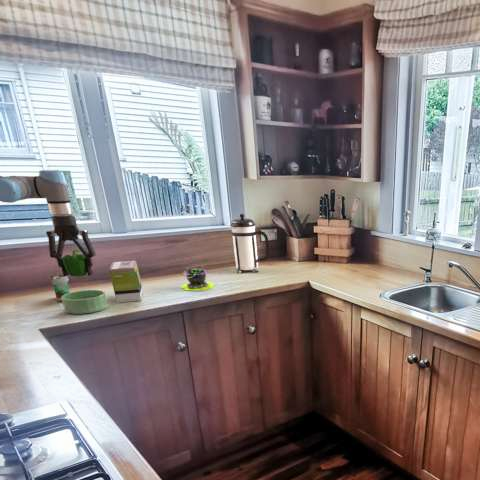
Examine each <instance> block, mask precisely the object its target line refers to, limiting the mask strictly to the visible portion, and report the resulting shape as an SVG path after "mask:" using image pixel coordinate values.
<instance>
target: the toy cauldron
mask: <svg viewBox="0 0 480 480" xmlns="http://www.w3.org/2000/svg"><path fill="white" fill-rule="evenodd" d="M190 265H193V264H192V262H191V263H190ZM195 266H198V263H197V264H196V263H195ZM188 267H189V268H190V266H187V267H186V269H188V270H184V271H183V272H182V274H183V275H186V276H185V278H186V280H187V281H188V283H186V284H183V285H182V286H181V287H180V288H181V289H182V290H183V291H188V292H189V291H190V292H197V291H200V292H201V291H206V290H210V289H212V288H214V287H215V284H214V283H212V282H208V281H206V280H207V275H206V274H207V273H209V270H206V269H202V268H204V266H203V265H202V266H201V267H200V268H196V267H194V268H192V269H189V268H188Z"/></svg>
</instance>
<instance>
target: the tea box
mask: <svg viewBox="0 0 480 480" xmlns="http://www.w3.org/2000/svg"><path fill="white" fill-rule="evenodd" d="M137 263H138V262H137V260H125V261H112V262H111V264H110V267H109V268H108V272H109V276H110V281H111V285H112V289H113V292H114V296H115V300H116V303H118V304H119V303H130V302H140V301H142V300H143V294H144V289H143V285H142V281H141V276H140V273H139V268H138V267H139V266H138V264H137Z"/></svg>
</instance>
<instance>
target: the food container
mask: <svg viewBox="0 0 480 480" xmlns="http://www.w3.org/2000/svg"><path fill="white" fill-rule="evenodd" d="M50 279H51V284H52V287H53V290H54V295H55V298H56V301H57V303H62V300H61V297H62V296H63V295H65V294H68V293H70V288H69V283H68V282H69V281H70V280H69V277H68V275H67V276H64V275H63V273H50Z"/></svg>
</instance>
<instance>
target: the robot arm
mask: <svg viewBox="0 0 480 480" xmlns="http://www.w3.org/2000/svg"><path fill="white" fill-rule="evenodd" d="M38 174H39V175H34V176H32V175H31V176H30V175H27V176H26V175H8V176H6V175H5V176H2V175H0V202H2V203H9V204H11V203H16V202H18V201H23V200H28V199H45V200H46V203H47V207H48V211H49V214H50V215H51V217H50V218H51V221H52V226H53V230H47V231H46V232H45V233H46V236H47V238H48V247H49V249H48V250H49V258H51V259H52V258H53V259H55V260H56V262H57V265H58V267H59V268H61V271H62V274H63V275H64V276H67V277H68V276H70V275H69V274H68V272H67V270H66V268H65V266H64V264H63V261H62V259H63V253H64V249H65V248H64V247H65V243H66V241H69V242H73V243H74V244H75V245H76V247H77V249H79V250H80V251H79V252H81V254H83V255H84V256H85V257H86V258H85V259H84V261H85V265H86V269H87V276H89V277H90V276H92V275H94V273H93V269H92V267H93V266H94V264H93V259H92V258H93V257H95V256H97V254H96V251H95V249H94V246H93V245H92V243H91V240H90V237H89V231H88V230H86V229H79V227H78V224H77V220H76V216H75V215H74V209H73V205H72V202H71V197H70V193H69V189H68V188H69V187H68V185H67V184H68V183H67V181H66V178H65V175H64V172H63V171H62V170H59V169H42V170H39V172H38ZM79 235H80V236H81V238H82V240H81V239H80V237H79ZM55 236H57V237H58V239H57V240H58V241H57V242H58V243H57V246H56V237H55ZM82 241H83V242H82ZM83 243H84V244H83ZM56 247H57V248H56Z"/></svg>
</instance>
